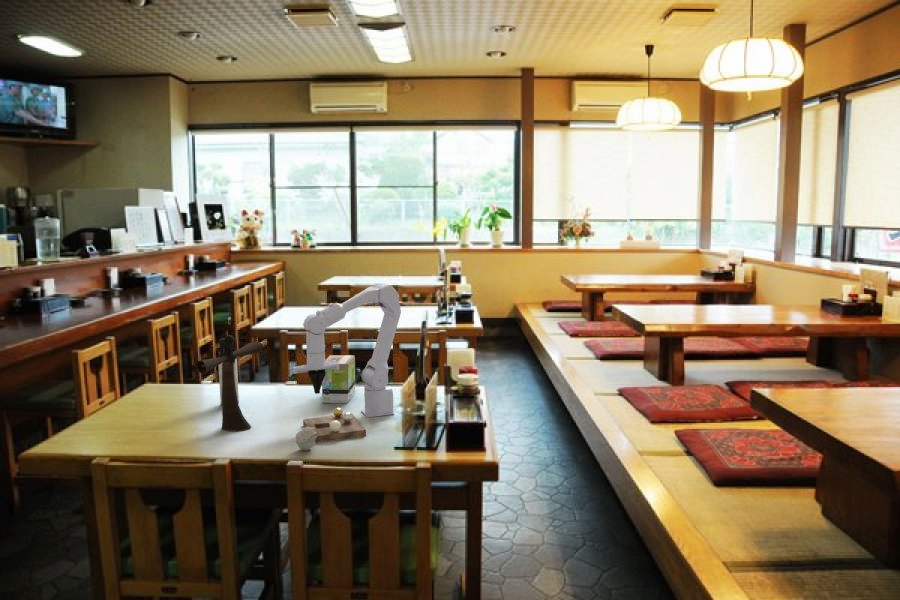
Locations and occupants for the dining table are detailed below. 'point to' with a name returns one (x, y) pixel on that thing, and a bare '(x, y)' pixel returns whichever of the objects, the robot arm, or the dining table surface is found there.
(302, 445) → the grey rounded lump
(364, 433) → the walnut board
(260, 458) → the dining table surface
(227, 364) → the t-shaped wooden sculpture
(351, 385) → the tea box
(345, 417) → the steel ball
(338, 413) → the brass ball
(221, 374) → the travel mug
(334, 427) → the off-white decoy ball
